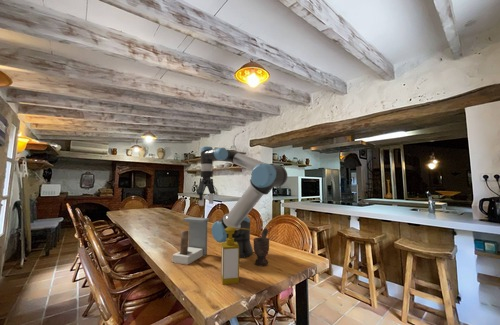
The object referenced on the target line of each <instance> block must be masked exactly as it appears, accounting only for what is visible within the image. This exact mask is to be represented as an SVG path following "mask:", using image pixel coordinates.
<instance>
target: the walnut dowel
mask: <svg viewBox="0 0 500 325" xmlns="http://www.w3.org/2000/svg"><path fill="white" fill-rule="evenodd" d="M188 243H189V230H182V231H181V232H180V249H179V251H180V254H181V255H187V253H188Z"/></svg>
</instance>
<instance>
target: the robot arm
mask: <svg viewBox="0 0 500 325" xmlns="http://www.w3.org/2000/svg"><path fill="white" fill-rule="evenodd" d="M219 161H220V162H227V163H232V164H234V165H236V166H239V167H242V168H244V169H247V170H248V171H251V173H250V175H251V176H250V179H249V186H248V187H247V189H246V190H245V191H244V192H243V194H242V195H241V196H240V197H239V198H238V200H237V201H236V203H235V204H234V206H233V207H232V208H231V210H229V212H228V213H225V214H224V215H223V216H222V217H221V219H220V220H217V221H214V222H213V224H212V225H211V234H212V237H213V239H214V240H215V241H216V243H219V244H222V243H225V242H226V239H227V238H229V234H227V233H226V231H225V229H226V228H227V227H234V228H246V229H249V230H246V229H236V230H235V232H234V234H232V238H234V242H237V243H238V245H239V259H241V258H242V259H243V258H249V257H250V256H252V255H253V254H254V253H253V250H254V248H253V247H252V243H251V217H249V216H248V215H249V213H250V212H251V211H252V210H253V209H254V207H255V206H256V205H257V203H258V202H259V200H261V198H263V196H264V195H268V194H269V193H270V191H272V189H273V188H278V187H282V186H283V185H285V183H287V180H288V172H287V170H286V168H285V167H284V166H282V165H277V164H274V163H268V162H267V163H266V162H263V161H261V160H258V159H255V158H253V157H250V156H248V155H245V154H243V153H240V152H239V151H237V150H229V149H226V148H225V147H216V148H213V147H212V146H201V147H200V166H199V167H200V178H199V183H198V188H197V192H196V194H197V195H198V196H199V197H198V201H199V202H198V206H199V207H200V206H201V207H203V206H205V195H204V193H205V191H206V188H207V190H208V192H209V193H208V204H210V205H211V204H212V205H213V204H214V194H216V191H215V185H214V179H213V174H214V173H213V169H214V166H213V165H214V162H219Z"/></svg>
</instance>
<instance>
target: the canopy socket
mask: <svg viewBox="0 0 500 325" xmlns="http://www.w3.org/2000/svg"><path fill="white" fill-rule="evenodd" d="M209 221H210V219H209V217H195V216H193V217H192V216H189V217H185V218H182V222H183V223H185V222H186V223H188V253H187V255H181V254H180V250H179V251H178V252H175V253H173V254H172V260H171V262H172V263H173V262H174V264H181V265H188V266H189V264H191V263H193V262H194V261H196V260H198V259H200V258H201V257H202V256H207V254H208V253H207V252H208V222H209Z"/></svg>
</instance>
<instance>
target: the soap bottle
mask: <svg viewBox="0 0 500 325" xmlns="http://www.w3.org/2000/svg"><path fill="white" fill-rule="evenodd" d="M236 229H246V228H234V227H227V228H226V229H225V231H226V233H227V234H229V238H227V239H226V242H222V243H221V266H220V267H221V271H220V272H221V273H220V275H221V278H220V279H221V285H230V284H231V285H232V284H239V283H240V258H239V245H238V243H237V242H234V238H232V234H234V232H235V230H236ZM246 230H249V229H246Z"/></svg>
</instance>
